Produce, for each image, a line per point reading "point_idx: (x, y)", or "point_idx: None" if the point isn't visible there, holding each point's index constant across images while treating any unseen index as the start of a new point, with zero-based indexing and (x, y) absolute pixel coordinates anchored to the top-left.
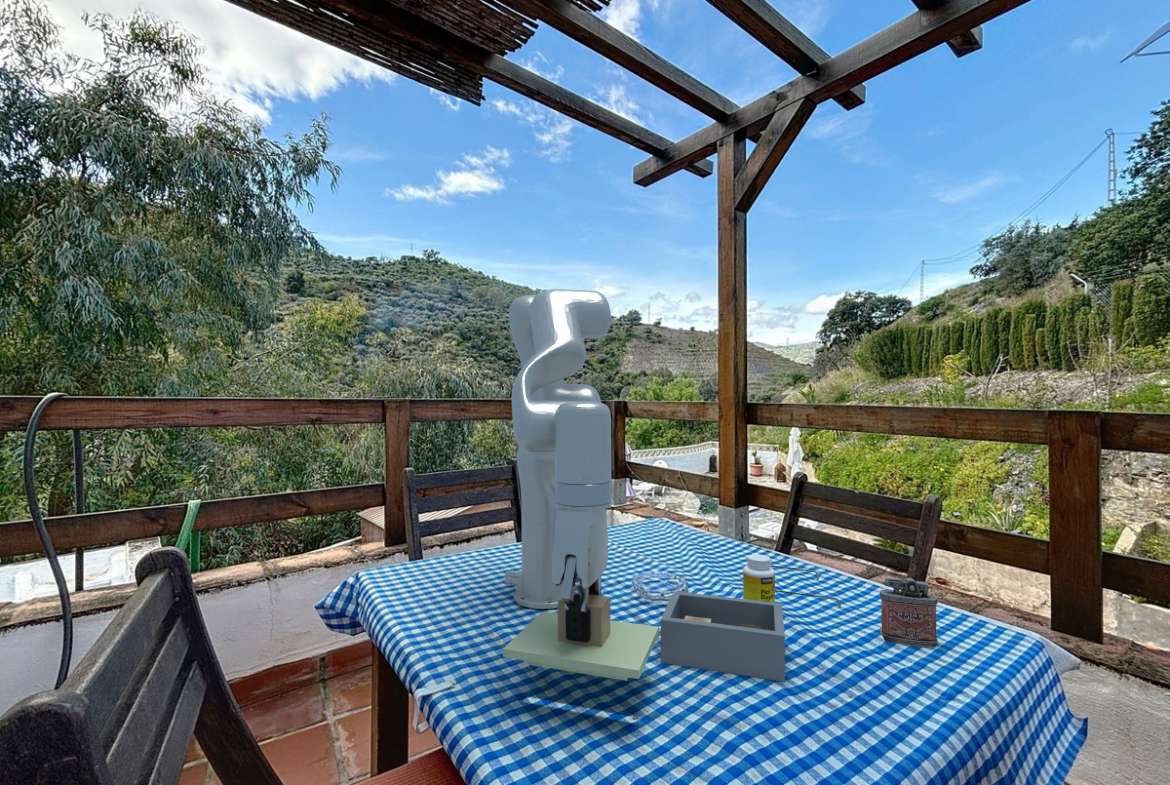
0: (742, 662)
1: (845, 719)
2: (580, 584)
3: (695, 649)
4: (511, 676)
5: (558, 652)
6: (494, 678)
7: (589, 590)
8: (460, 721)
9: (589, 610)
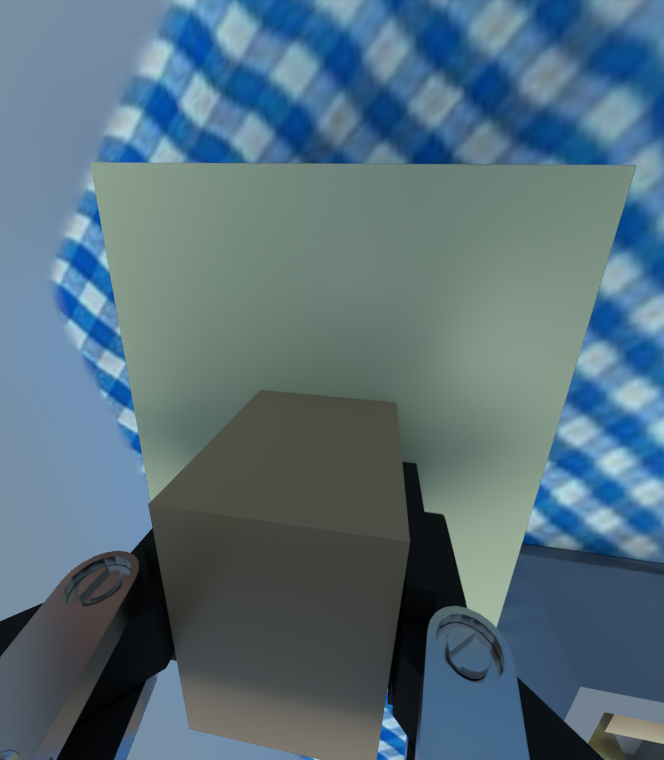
0: None
1: (386, 747)
2: (420, 720)
3: (515, 664)
4: (395, 142)
5: (170, 418)
6: (369, 82)
7: (412, 709)
8: (140, 111)
9: (175, 660)
